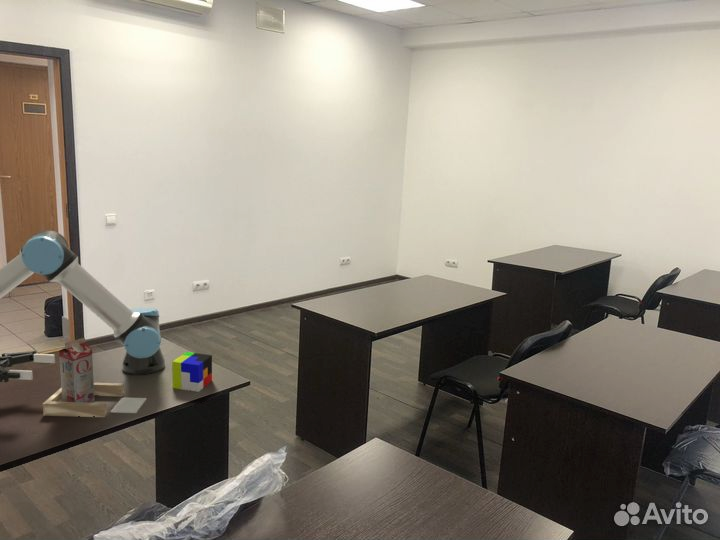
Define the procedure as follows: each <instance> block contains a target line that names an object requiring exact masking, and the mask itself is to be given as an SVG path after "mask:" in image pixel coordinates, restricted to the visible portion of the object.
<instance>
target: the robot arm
mask: <svg viewBox="0 0 720 540" xmlns="http://www.w3.org/2000/svg"><path fill="white" fill-rule="evenodd" d="M34 273H35V274H38V275H41V276H42V277H44V278H45V279H46V280H47V281H48V282H49V283H50V282H51V283H57V284H60V286H61V287H63V288H64V289H65V290H66V291H67V292H69V293H70V294H71V295H72V296H73V297H74V298H76V299H77V300H78V301H79V302H80V303H81V304H82V305H84V306H85V307H86V308H87V309H88V310H89V311H91V312H92V313H93V314H94V315H95V316H97V318H99V319H100V320H101V321H102V322H103V323H105V324H106V325H107V326H108V327H109V328H111V329H112V330H113V337H114V338H115V339H116V340H117V341H118V342H120V344H122V346H124V349H125V355H124V357H123V360H122V370H123V372H124V373H127V374H131V375H148V374H154V373H157V372H160V371H161V370H162V369H164V368H165V366H166V360H165V357H164V354H163V351H162V349H161V347H160V346H161V343H162V336H161V330H160V313H159V310H158V309H156V308H155V307H154V308H153V307H151V308H150V307H142V308H141V307H139V308H132V309H130V308H129V307H128V306H127V305H125V303H123V302H122V301H121V300H120V299H118V297H117V296H116V295H114V294H113V293H112V292H111V291H110V290H108V289H107V287H105V286H104V285H103V283H101V282H100V281H99V280H97V279H96V278H95V277H94V276H93V275H92V274H91V273H90V272H88V271H87V270H86V269H85V268H84V267H83V266H81V264H79V256H78V255H77V254H76V253H74V251H72V250H71V249H70V248H69V244H68V240H67V239H66V238H65V237H64V236H63V234H61V233H59V232H57V231H55V230H41V231H38V232H37V233H35V234H34V235H33V236H32V237H30V238H29V239H28V240H27V241H26V242H25V243H24V245H23V247H22V248H21V249H20V250H19V254H18V255H17V256H15V257H14V258H12V259H11V260H10V261H9V262H7V263H6V264H5V265H3V266H2V267H1V268H0V299H2V298H3V297H5V296H6V295H7V294H8V293H10V292H11V291H13V290H14V289H15V288H17V287H18V286H19V285H20V284H22V282H24V281H25V280H27V279H28V278H29V277H31V276H33V274H34ZM55 355H56V354H52V353H51V354H49V353H37V351H36V350H32V351H31V350H30V351H20V352H12V353H8V352H7V353H6V352H5V353H1V356H0V383H2V382H3V383H8V382H9V380H27V381H32V380H34V378H33V377H34V376H33V375H34V374H33V370H27V369H26V370H23V369H9V370H8V369H6V368H10V367H12V366H14V365H20V364H24V363H30V362H33V363H43V364H47V363H48V364H55V363H56V356H55Z"/></svg>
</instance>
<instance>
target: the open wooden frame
mask: <svg viewBox="0 0 720 540" xmlns="http://www.w3.org/2000/svg"><path fill="white" fill-rule="evenodd" d="M124 385H125V384H124V383H119V382H117V383H116V382H115V383H114V382H112V383H111V382H94V395H99V396H100V397H124V395H125V388H124V387H125V386H124ZM99 396H98V397H99ZM42 412H43V417H45V416H46V417H50V416H51V417H78V416H80V417H81V418H82V417H83V418H85V417H86V418H105V417H106V416H107V403H106V402H95V403H87V402H62V389H61V387H60V388H59V389H58V390H56V392H54V393H53V394H52V395H50V397H48V398H47V399H46V400H45V401H44V402H43V403H42ZM93 416H95V417H93Z"/></svg>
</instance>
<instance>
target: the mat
mask: <svg viewBox="0 0 720 540" xmlns="http://www.w3.org/2000/svg"><path fill="white" fill-rule="evenodd" d="M146 401H147V397H124V396H121V398H120V399H119V401H118V402H117V403H116V404H115V405H114V406H113V408H112V409H111V410H110V411H109V412H110V413H113V414H114V413H116V414H119V413H120V414H137V412H139V410H140V409H141V407H142V406H143V405H144V404H145V402H146Z"/></svg>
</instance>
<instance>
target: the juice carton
mask: <svg viewBox="0 0 720 540" xmlns="http://www.w3.org/2000/svg"><path fill="white" fill-rule="evenodd" d="M58 357H59V367H60V368H59V370H60V371H59V373H60V384H61V385H60V388H61V389H62V402H87V403H96V402H95V401H96V400H95V396H94V383H95V382H94V365H93V349H92V348H91V347H90V345H88V344H87V342H86V337H81V338H78V339H75V340H72V341H68V342H66V343H64V348H62V349H60V350H58Z"/></svg>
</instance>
